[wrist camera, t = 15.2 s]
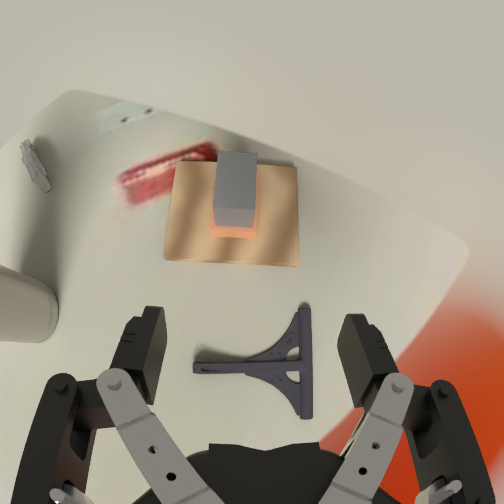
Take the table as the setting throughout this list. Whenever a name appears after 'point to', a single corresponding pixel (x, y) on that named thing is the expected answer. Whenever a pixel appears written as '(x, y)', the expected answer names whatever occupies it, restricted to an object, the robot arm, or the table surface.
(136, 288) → the table surface
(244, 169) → the block
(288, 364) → the bracket
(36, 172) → the garden wall model
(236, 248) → the oak board
